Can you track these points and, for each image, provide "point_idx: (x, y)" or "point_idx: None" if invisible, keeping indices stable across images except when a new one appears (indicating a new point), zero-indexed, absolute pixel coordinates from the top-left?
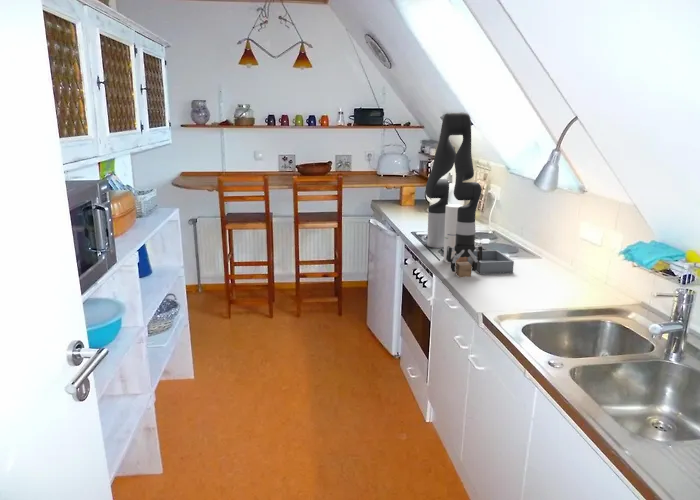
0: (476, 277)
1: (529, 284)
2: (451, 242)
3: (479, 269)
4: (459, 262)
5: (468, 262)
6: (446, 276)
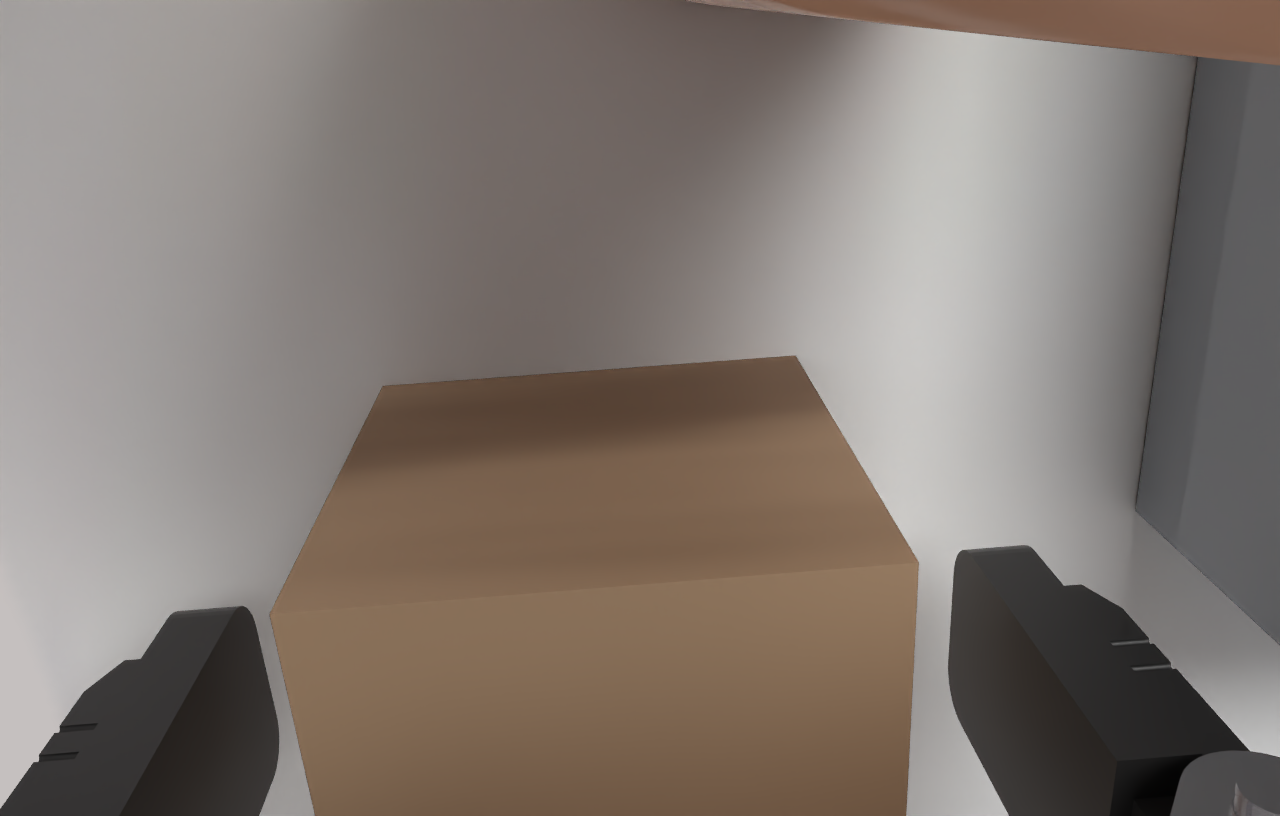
0: (919, 751)
1: None
2: None
3: (1224, 523)
4: (442, 688)
5: (891, 703)
6: (58, 662)
